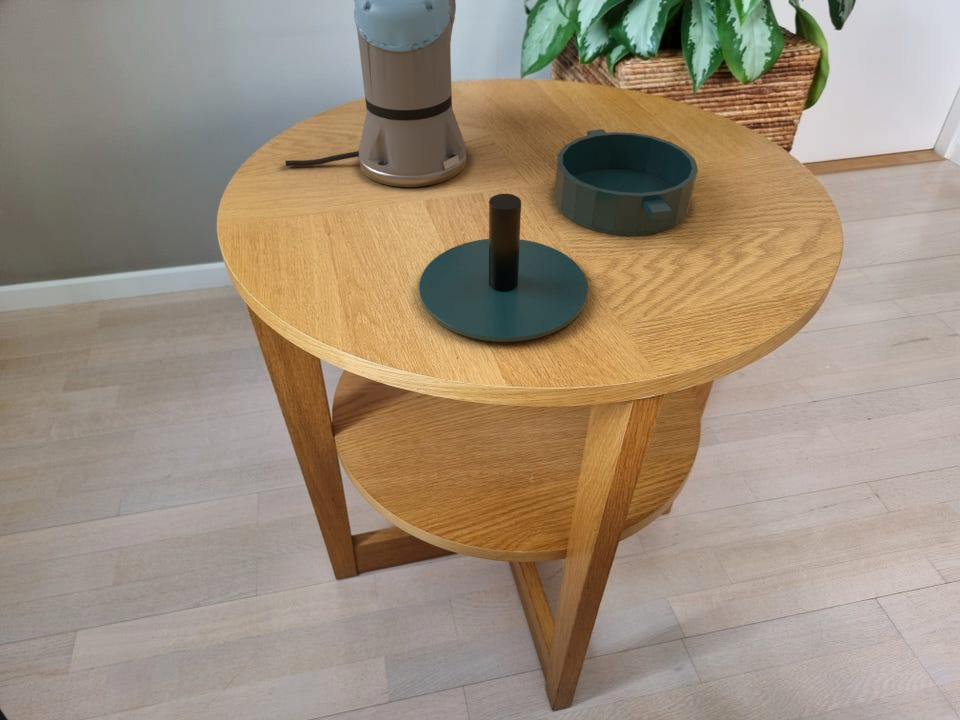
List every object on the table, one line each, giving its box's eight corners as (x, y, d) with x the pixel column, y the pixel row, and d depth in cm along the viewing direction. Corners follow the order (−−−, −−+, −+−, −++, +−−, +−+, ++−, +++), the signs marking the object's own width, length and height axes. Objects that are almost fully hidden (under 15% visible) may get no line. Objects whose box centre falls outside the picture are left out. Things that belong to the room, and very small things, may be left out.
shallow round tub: (586, 255, 82) (591, 214, 79) (533, 168, 99) (535, 130, 95) (722, 237, 85) (733, 197, 81) (648, 155, 102) (654, 118, 98)
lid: (435, 358, 69) (429, 264, 61) (408, 257, 82) (400, 169, 75) (611, 332, 72) (626, 238, 64) (558, 238, 85) (564, 151, 78)
